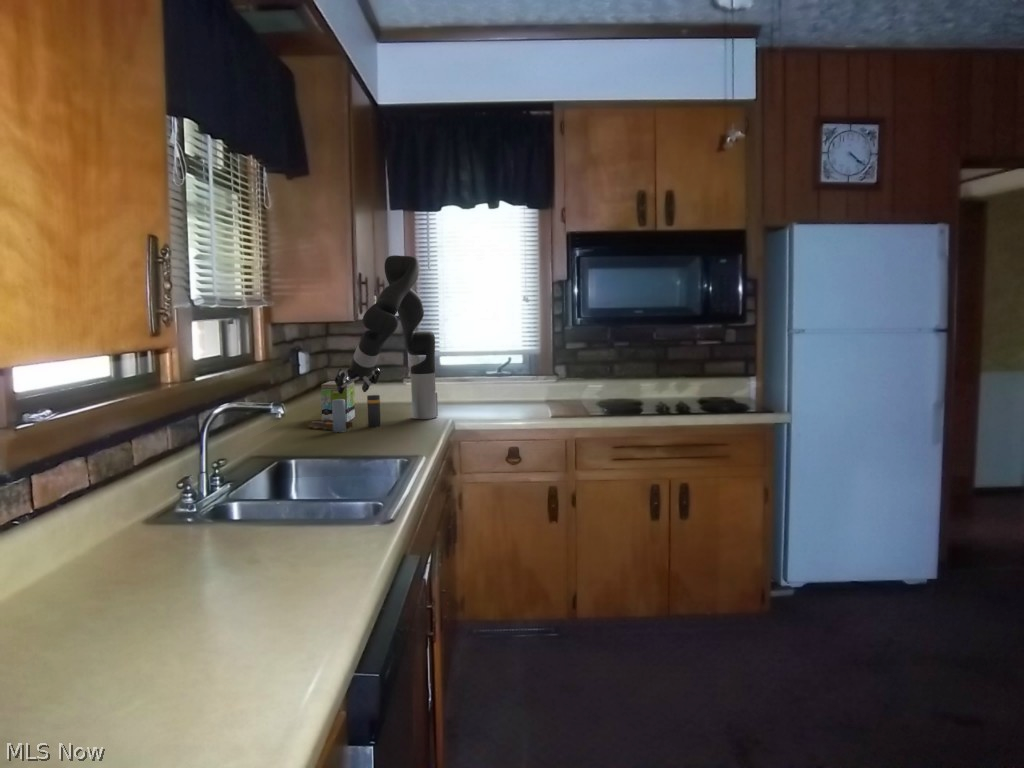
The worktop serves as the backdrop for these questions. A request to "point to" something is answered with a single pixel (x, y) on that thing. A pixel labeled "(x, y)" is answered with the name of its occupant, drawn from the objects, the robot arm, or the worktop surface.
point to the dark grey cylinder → (373, 410)
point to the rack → (326, 424)
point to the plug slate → (339, 415)
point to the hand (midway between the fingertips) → (351, 391)
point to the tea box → (331, 393)
